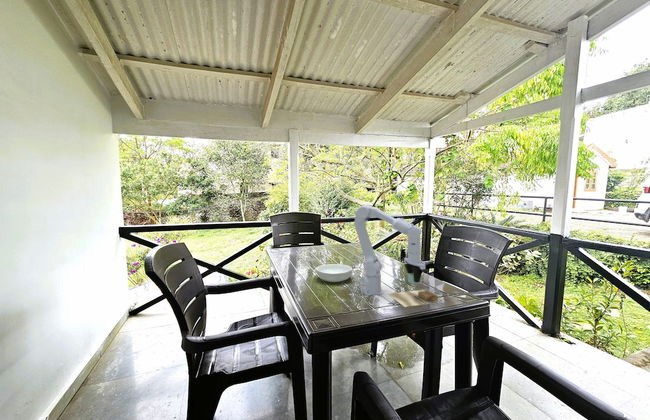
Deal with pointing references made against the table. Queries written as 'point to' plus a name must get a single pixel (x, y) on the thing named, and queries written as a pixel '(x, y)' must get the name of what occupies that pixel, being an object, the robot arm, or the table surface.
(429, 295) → the walnut slab
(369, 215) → the robot arm
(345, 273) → the serving bowl
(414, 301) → the build board
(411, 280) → the teal block
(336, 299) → the table surface
